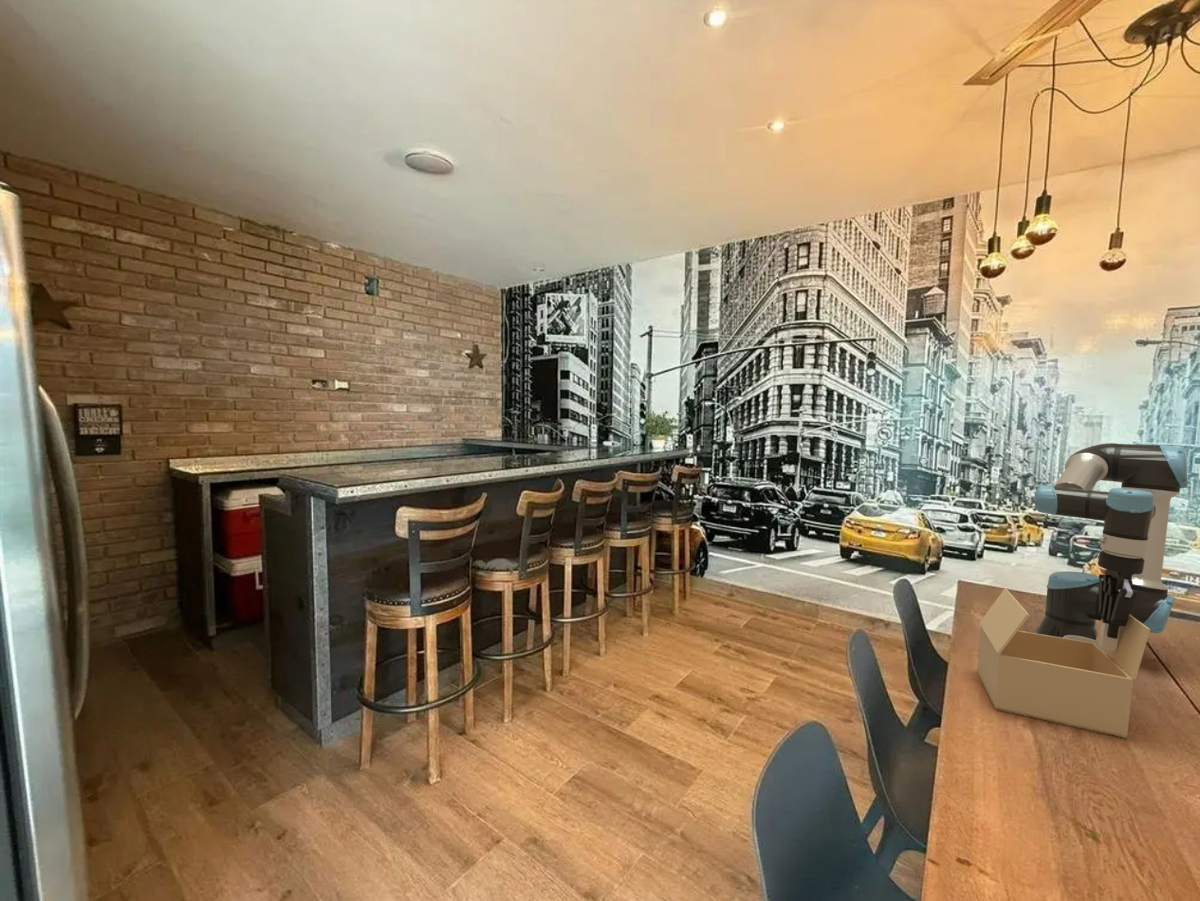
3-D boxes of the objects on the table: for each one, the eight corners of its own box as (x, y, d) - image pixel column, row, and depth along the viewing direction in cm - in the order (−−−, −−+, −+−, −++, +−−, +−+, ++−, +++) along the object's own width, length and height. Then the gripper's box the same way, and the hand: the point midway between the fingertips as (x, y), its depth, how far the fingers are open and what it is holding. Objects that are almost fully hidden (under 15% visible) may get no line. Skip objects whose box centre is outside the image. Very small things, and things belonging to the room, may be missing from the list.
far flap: (999, 654, 124) (997, 652, 124) (981, 623, 141) (979, 622, 141) (1029, 615, 120) (1027, 614, 121) (1006, 589, 138) (1005, 588, 138)
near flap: (1095, 642, 131) (1097, 643, 130) (1132, 678, 113) (1135, 679, 113) (1106, 598, 129) (1109, 599, 129) (1147, 628, 111) (1150, 629, 111)
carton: (1089, 694, 132) (1094, 643, 131) (1126, 738, 114) (1133, 679, 113) (977, 672, 143) (980, 624, 141) (995, 709, 125) (999, 655, 123)
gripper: (1089, 544, 127) (1076, 634, 129) (1113, 557, 116) (1098, 656, 118) (1130, 549, 124) (1115, 641, 126) (1158, 564, 112) (1142, 664, 114)
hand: (1107, 648), depth 122 cm, fingers closed
